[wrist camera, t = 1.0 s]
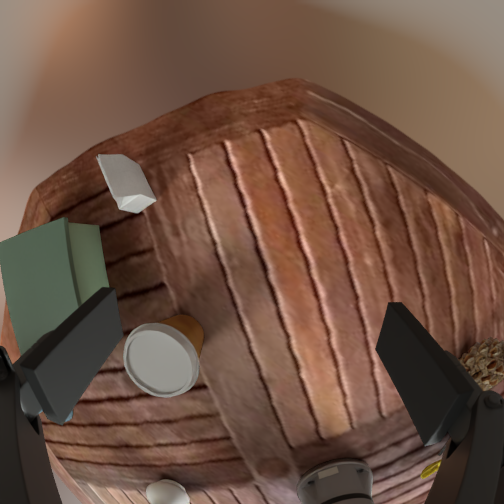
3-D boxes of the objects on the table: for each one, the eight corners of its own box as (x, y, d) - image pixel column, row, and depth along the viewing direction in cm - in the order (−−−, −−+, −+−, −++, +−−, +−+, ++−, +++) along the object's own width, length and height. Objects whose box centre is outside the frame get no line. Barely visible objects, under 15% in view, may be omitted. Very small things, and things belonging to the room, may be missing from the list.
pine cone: (489, 318, 39) (522, 330, 29) (493, 356, 39) (522, 372, 29) (401, 382, 40) (427, 409, 30) (410, 417, 40) (432, 446, 30)
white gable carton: (139, 164, 40) (108, 145, 30) (156, 200, 40) (126, 188, 30) (120, 177, 41) (86, 162, 31) (137, 213, 41) (103, 206, 31)
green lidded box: (124, 337, 41) (92, 358, 31) (55, 341, 42) (21, 357, 32) (101, 221, 41) (63, 217, 31) (34, 242, 42) (-3, 243, 32)
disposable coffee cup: (143, 322, 41) (105, 348, 29) (190, 291, 41) (162, 310, 29) (178, 372, 41) (152, 410, 29) (227, 345, 41) (214, 381, 29)
